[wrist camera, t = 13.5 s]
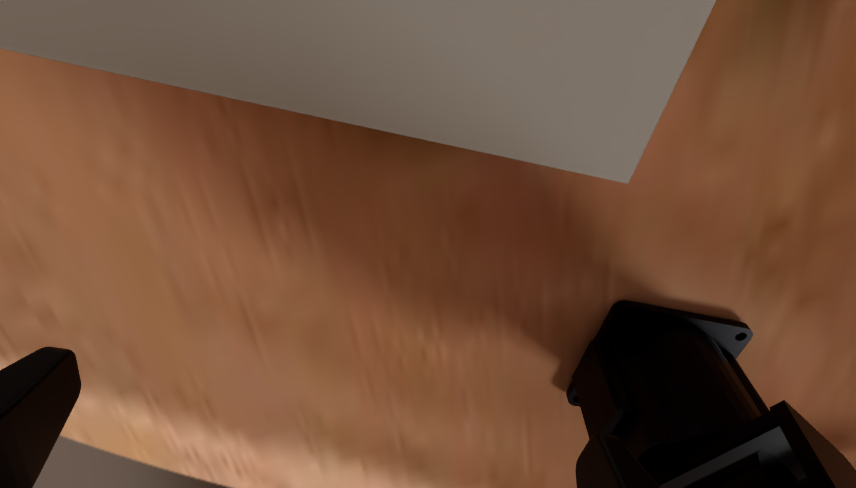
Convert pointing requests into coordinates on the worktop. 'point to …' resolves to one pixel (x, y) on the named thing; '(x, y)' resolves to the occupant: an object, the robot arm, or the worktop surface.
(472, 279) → the worktop surface
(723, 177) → the worktop surface
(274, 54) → the switch panel
